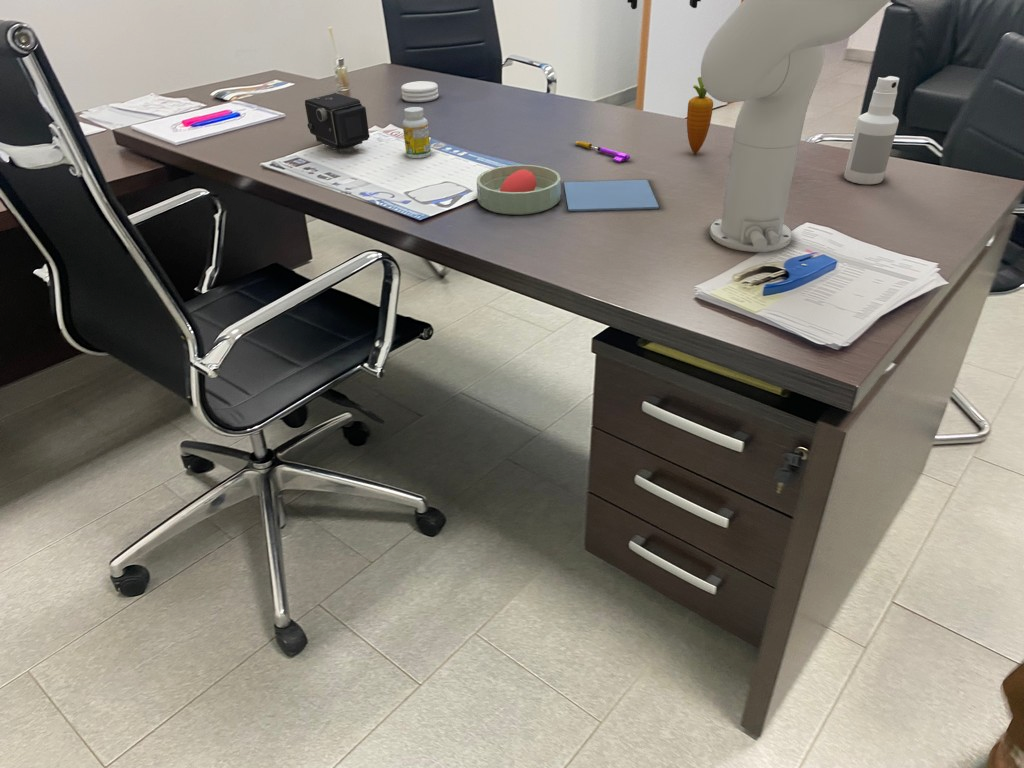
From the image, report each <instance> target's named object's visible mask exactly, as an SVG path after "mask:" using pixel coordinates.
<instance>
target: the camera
mask: <svg viewBox="0 0 1024 768" xmlns="http://www.w3.org/2000/svg"><path fill="white" fill-rule="evenodd" d="M304 107H305V112H306V117H307V128H308V130H309V132H310V134H311V135H313V136H315V139H316V141H317V142H318V143H322V144H323V145H324V146H327V147H329V148H331V149H334V150H336V151H338V150H339V152H340V153H343V154H347V153H353V152H354V151H355V148H354V147H355V146H358V145H361V144H363V142H365V141H368V140H369V139H370V131H369V123H368V122H369V121H368V115H367V108H366V106H365V105H363V103H361V100H360V99H358V98H356V97H351V96H348V95H344V94H341V93H337V92H333V93H330V94H325V95H322V96H317V97H313V98H308V99H305V100H304Z"/></svg>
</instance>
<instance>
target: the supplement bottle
mask: <svg viewBox="0 0 1024 768" xmlns="http://www.w3.org/2000/svg"><path fill="white" fill-rule="evenodd" d="M424 112H425V111H424V108H423V107H421V106H409V107H406V108H404V111H403V113H404V117H405V119H403V121H402V130H403V138H404V146H405V154H406V156H407V157H408V158H411V159H423V158H427V157H429V156H430V155H431V154H432V153H431V152H432V150H431V149H432V148H431V141H430V131H429V130H430V129H429V122H428V119H427V118H425V117H424V115H425V113H424Z"/></svg>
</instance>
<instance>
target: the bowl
mask: <svg viewBox="0 0 1024 768" xmlns="http://www.w3.org/2000/svg"><path fill="white" fill-rule="evenodd" d="M523 169H524V170H528V171H530V172H532V173H533V174H534V176H535V178H536V187H535V189H534V191H529V192H502V191H500V188H501V186H502V184H503V183H504V181H505V180H506V179H507V178H508V177H509V176H510V175H511V174H513V173H514V172H516V171H518V170H523ZM561 179H562V178H561V174H560V173H559V172H557V171H556V170H554V169H551V168H549V167H545V166H541V165H534V164H510V165H509V164H508V165H503V166H497V167H494V168H490V169H488V170H486V171H483V172H481V173H480V174H479V175H478V176H477V177H476V195H477V196H476V197H477V203H478V204H479V205H480V206H481V207H483V208H484V209H486V210H487V211H490V212H492V213H497V214H503V215H513V216H514V215H515V216H516V215H519V216H520V215H521V216H522V215H531V214H536V213H541V212H544V211H547V210H550V209H551V208H553V207H555V206H557V204H558V203H559V202H560V200H561V199H562V198H561V197H562V195H561V193H562V189H561V188H562V182H561V181H562V180H561Z"/></svg>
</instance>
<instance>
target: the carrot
mask: <svg viewBox="0 0 1024 768" xmlns="http://www.w3.org/2000/svg"><path fill="white" fill-rule="evenodd" d="M697 82H698V85H699V86H698V85H697V84H694V85H693V86H692V88H693V89H695V91H696V93H697V96H693V97H692V98H690V99H689V101H688V103H687V113H686V114H687V115H686V133H687V139H688V140H687V141H688V144H689V146H690V149H691V152H692V153H693V154H694V155H696V154H698V153H699V151H700V150H701V148H702V147H703V145H704V143H705V141H706V139H707V136H708V134H709V133H708V132H709V128H710V127H711V126H710V125H711V122H712V116H713V110H714V100H713V99H712V98H710V97H709V96H706V95H707V94H708V92H707V91H706V90H705V88H704V86H703V83H702V79H701V76H698V77H697Z"/></svg>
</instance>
